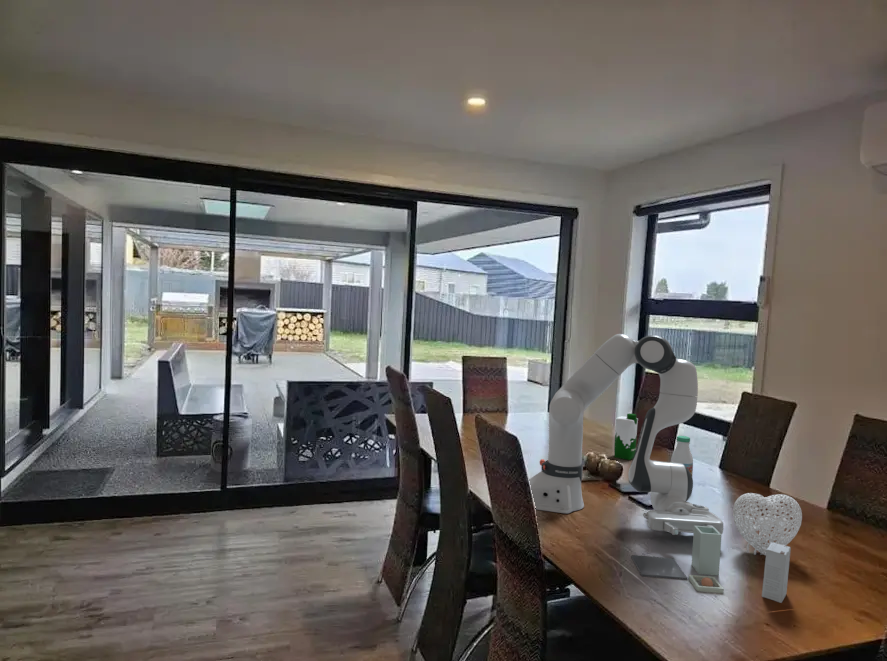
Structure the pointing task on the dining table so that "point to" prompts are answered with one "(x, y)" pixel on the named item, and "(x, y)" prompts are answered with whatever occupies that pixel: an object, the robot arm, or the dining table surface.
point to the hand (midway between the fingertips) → (693, 533)
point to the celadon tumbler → (706, 550)
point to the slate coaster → (658, 567)
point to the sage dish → (706, 588)
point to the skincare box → (776, 572)
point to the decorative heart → (766, 520)
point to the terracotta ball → (707, 582)
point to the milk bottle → (683, 453)
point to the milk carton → (625, 436)
